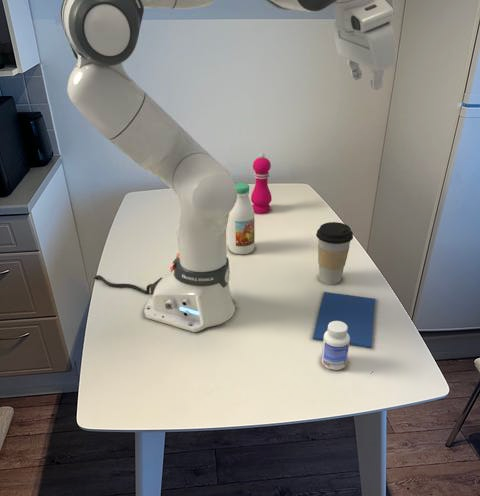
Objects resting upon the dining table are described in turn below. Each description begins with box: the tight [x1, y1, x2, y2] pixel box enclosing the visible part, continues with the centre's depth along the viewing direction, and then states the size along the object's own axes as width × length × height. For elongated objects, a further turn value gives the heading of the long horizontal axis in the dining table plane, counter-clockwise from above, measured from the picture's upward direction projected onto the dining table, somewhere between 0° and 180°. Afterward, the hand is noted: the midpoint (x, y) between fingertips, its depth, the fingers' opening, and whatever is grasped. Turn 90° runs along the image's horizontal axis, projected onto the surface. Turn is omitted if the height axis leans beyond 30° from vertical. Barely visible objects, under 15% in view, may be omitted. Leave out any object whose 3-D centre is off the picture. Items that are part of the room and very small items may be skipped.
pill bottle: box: [321, 321, 350, 371], centre depth 103 cm, size 5×5×10 cm
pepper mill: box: [250, 152, 272, 215], centre depth 167 cm, size 7×7×20 cm
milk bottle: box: [227, 182, 256, 255], centre depth 143 cm, size 8×8×20 cm
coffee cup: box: [315, 221, 354, 285], centre depth 130 cm, size 9×9×15 cm
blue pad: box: [312, 291, 376, 349], centre depth 119 cm, size 13×20×1 cm, turn 165°
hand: (366, 83), depth 104 cm, fingers open, 8 cm apart
